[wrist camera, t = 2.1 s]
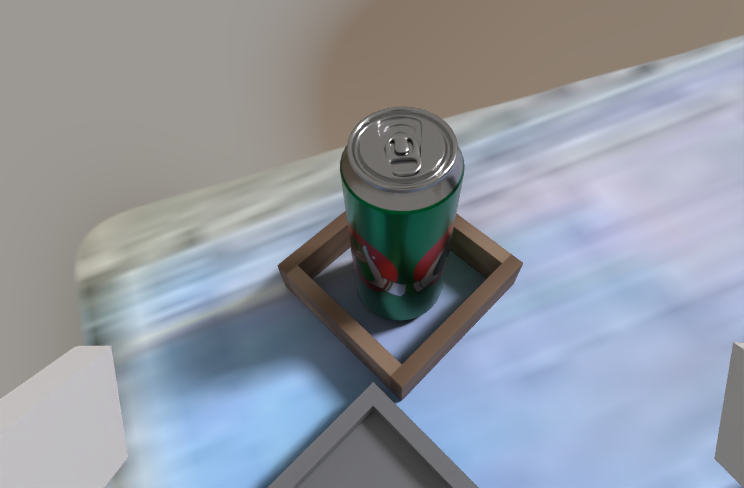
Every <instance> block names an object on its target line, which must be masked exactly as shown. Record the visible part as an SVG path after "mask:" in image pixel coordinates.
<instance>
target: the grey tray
mask: <svg viewBox="0 0 744 488" xmlns="http://www.w3.org/2000/svg"><path fill="white" fill-rule="evenodd" d="M267 488H478V487H477V485H476V484H475V483H474V482H473V481H472V480H471V479H470V478H469V477H468V476H467V475H466V474H465V473H464V472H463V471H462V470H461V469H460V468H459V467H458V466H457V465H456V464H455V463H454V462H453V461H452V460H451V459H450V458H449V457H448V456H447V455H446V454H445V453H444V452H443V451H442V450H441V449H440V448H439V447H438V446H437V445H436V444H435V443H434V442H433V441H432V440H431V439H430V438H429V437H428V436H427V435H426V434H425V433H424V432H423V431H422V430H421V429H420V428H419V427H418V426H417V425H416V424H415V423H414V422H413V421H412V420H411V419H410V418H409V417H408V416H407V415H406V414H405V413H404V412H403V411H402V410H401V409H400V408H399V407H398V406H397V405H396V404H395V403H394V402H393V401H392V400H391V399H390V398H389V397H388V396H387V395H386V394H385V393H384V392H383V391H382V390H381V389H380V388H379V387H378V386H377V385H376V384H375V383H374V382H373V383H372V384H371V385H370V386H369V387H368V388H367V389H366V390H365V391H364V392H363V393H362V394H361V395H360V396H359V397H358V398H357V399H356V400H355V401H354V402H353V403H352V404H351V405H350V406H349V407H348V408H347V409H346V410H345V411H344V412H343V413H342V414H341V415H340V416H339V417H338V418H337V419H336V420H335V421H334V422H333V423H332V424H331V425H330V426H329V427H328V428H327V429H326V430H325V431H324V432H322V433H321V434H320V435H319V436H318V437H317V438H316V439H315V440H314V441H313V442H312V443H311V444H310V445H309V446H308V447H307V448H306V449H305V450H304V451H303V452H302V453H301V454H300V455H299V456H298V457H297V458H296V459H295V460H294V461H293V462H292V463H291V464H290V465H289V466H288V467H287V468H286V469H285V470H284V471H283V472H282V473H281V474H280V475H279V476H278V477H277V478H276V479H275V480H274V481H273V482H272V483H271V484H270V485H269V486H268V487H267Z"/></svg>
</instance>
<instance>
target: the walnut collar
mask: <svg viewBox="0 0 744 488" xmlns="http://www.w3.org/2000/svg"><path fill="white" fill-rule="evenodd" d="M350 247H351V245H350V238H349V231H348V224H347V216H346V211H345V212H344V213H342V214H341V215H340V216H339V217H337V218H336V219H335V220H334V221H332V222H331V223H330V224H329V225H327V226H326V227H325V228H324V229H322V230H321V231H320V232H319V233H317V234H316V235H315V236H314V237H312V238H311V239H310V240H309V241H307V242H306V243H305V244H304V245H302V246H301V247H300V248H299V249H297V250H296V251H295V252H294V253H292V254H291V255H290V256H289V257H287V258H286V259H285V260H284V261H282V262H281V263H280V264H279V265H277V266H278V268H279V271H280V273H281V276H282V278H283V280H284V283H285V285H286V287H287V288H288V289H289V290H290V291H291V292H292V293H293V294H294V295H295V296H296V297H297V298H298V299H299V300H300V301H301V302H302V303H303V304H305V305H306V306H307V307H308V308H309V309H310V310H311V311H312V312H313V313H314V314H315V315H316V316H317V317H318V318H319V319H320V320H321V321H322V322H323V323H324V324H325V325H326V326H327V327H328V328H329V329H330V330H331V331H332V332H333V333H334V334H335V335H336V336H337V337H338V338H339V339H340V340H341V341H342V342H343V343H344V344H345V345H346V346H347V347H348V348H349V349H350V350H351V351H352V352H353V353H354V354H355V355H356V356H357V357H358V358H359V359H360V360H361V361H362V362H363V363H364V364H365V365H366V366H367V367H368V368H369V369H370V370H371V371H372V372H373V373H374V374H375V375H376V376H377V377H378V378H379V379H380V380H381V381H382V382H383V383H384V384H385V385H386V386H387V387H388V388H389V389H390V390H391V391H392V392H393V393H394V394H395V395H396V396H397V397H398V398H399V399H400V400H401V401H402V400H403V399H404V398H405V397H406V396H407V395H408V394H409V392H410V391H411V390H412V389H413V388H414V387H415V386H416V385H417V384H418V383H419V382H420V381H421V380H422V379H423V378H424V377H425V376H426V375H427V374H428V373H429V372H430V371H431V370H432V368H433V367H434V366H435V365H436V364H437V363H438V362H439V361H440V360H441V359H442V358H443V357H444V356H445V355H446V354H447V353H448V352H449V351H450V350H451V349H452V348H453V347H454V345H455V344H456V343H457V342H458V341H459V340H460V339H461V338H462V337H463V336H464V335H465V334H466V333H467V332H468V331H469V330H470V329H471V328H472V327H473V326H474V325H475V324H476V323H477V321H478V320H479V319H480V318H481V317H482V316H483V315H484V314H485V313H486V312H487V311H488V310H489V309H490V308H491V307H492V306H493V305H494V304H495V303H496V302H497V301H498V300H499V299H500V297H501V296H502V295H503V294H504V293H505V292H506V291H507V290H508V289H509V288H510V287H511V286H512V285H513V284H514V282H515V280H516V278H517V275H518V273H519V271H520V269H521V267H522V265H523V262H521V261H520V260H519V259H517V258H516V257H514V256H513V255H512V254H510V253H509V252H508V251H506V250H505V249H504V248H502V247H501V246H500V245H498V244H497V243H496V242H494V241H493V240H491V239H490V238H489V237H487V236H486V235H485V234H483V233H482V232H481V231H479V230H478V229H477V228H475V227H474V226H473V225H471V224H470V223H468V222H467V221H466V220H464V219H463V218H462V217H460V216H459V215H458V214H456V217H455V223H454V228H453V233H452V238H451V243H450V248H449V249H450V250H452V251H453V252H454V253H455V254H457V255H458V256H459V257H460V258H462V259H463V260H464V261H466V262H467V263H468V264H469V265H471V266H472V267H473V268H475V269H476V270H477V271H478V272H480V273H481V274H482V275H484V276H485V277H486V278H487V279H486V280H485V281H484V282H483V283H482V284H481V285H480V286H479V287H478V288H477V289H476V290H475V291H474V292H473V293H472V294H471V295H470V296H469V297H468V298H467V299H466V300H465V301H464V302H463V303H462V304H461V305H460V306H459V307H458V308H457V309H456V310H455V312H454V313H453V314H452V315H451V316H450V317H449V318H448V319H447V320H446V321H445V322H444V323H443V324H442V325H441V326H440V327H439V328H438V329H437V330H436V331H435V332H434V333H433V334H432V335H431V336H430V337H429V338H428V339H427V340H426V341H425V342H424V343H423V344H422V345H421V346H420V347H419V348H418V349H417V350H416V351H415V352H414V353H413V354H412V355H411V356H410V357H409V358H408V359H407V360H406V361H405V362H404V363H403V364H401V363H400V362H399V361H397V360H396V359H395V358H394V357H393V356H392V355H391V354H390V353H389V352H388V351H387V350H386V349H385V348H384V347H383V346H382V345H381V344H380V343H379V342H378V341H376V340H375V339H374V338H373V337H372V336H371V335H370V334H369V333H368V332H367V331H366V330H365V329H364V328H363V327H362V326H361V325H360V324H359V323H358V322H357V321H355V320H354V319H353V318H352V317H351V316H350V315H349V314H348V313H347V312H346V311H345V310H344V309H343V308H342V307H341V306H340V305H339V304H338V303H337V302H336V301H334V300H333V299H332V298H331V297H330V296H329V295H328V294H327V293H326V292H325V291H324V290H323V289H322V288H321V287H320V286H319V285H318V284H317V283H316V282H315V281H313V280H312V279H313V278H314V277H315V276H317V275H318V274H319V273H320V272H321V271H322V270H324V269H325V268H326V267H327V266H328V265H330V264H331V263H332V262H333V261H334V260H336V259H337V258H338V257H339V256H340V255H341V254H343V253H344V252H345V251H346V250H347V249H349V248H350Z"/></svg>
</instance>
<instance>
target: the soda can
mask: <svg viewBox="0 0 744 488" xmlns="http://www.w3.org/2000/svg"><path fill="white" fill-rule="evenodd" d="M340 173H341V180H342V188H343V195H344V202H345V209H346V216H347V224H348V231H349V238H350V245H351V252H352V260H353V267H354V274H355V281H356V288H357V292H358V295H359V297H360V299H361V301H362V302H363V303H364V305H365V306H366V307H367V308H368V309H369V310H370V311H372V312H373V313H375V314H376V315H378V316H381V317H383V318H386V319H390V320H409V319H413V318H416V317H418V316H420V315H422V314H424V313H426V312H427V311H428V310H429V309H431V308H432V307H433V306H434V304H435V303H436V301H437V300H438V298H439V296H440V293H441V289H442V285H443V280H444V274H445V269H446V264H447V259H448V254H449V248H450V243H451V238H452V233H453V228H454V223H455V217H456V212H457V207H458V202H459V197H460V191H461V186H462V181H463V176H464V159H463V156H462V153H461V150H460V149H459V147H458V143H457V139H456V137H455V134H454V132H453V131H452V129H451V128H450V126H449V125H448V124H447V123H446V122H445V121H444V120H442V119H441V118H440V117H438V116H437V115H435V114H433V113H430V112H428V111H425V110H422V109H418V108H413V107H393V108H387V109H383V110H380V111H377V112H375V113H372V114H371V115H369V116H367V117H365V118H364V119H363V120H362V121H360V122H359V123H358V124H357V125H356V126H355V128H354V129H353V131H352V133H351V135H350V137H349V140H348V144H347V146H346V147H345V149H344V151H343V153H342V157H341V161H340Z"/></svg>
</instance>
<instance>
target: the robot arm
mask: <svg viewBox="0 0 744 488" xmlns="http://www.w3.org/2000/svg"><path fill="white" fill-rule="evenodd" d="M127 458H128V454H127V447H126V441H125V434H124V428H123V421H122V415H121V408H120V402H119V395H118V388H117V382H116V375H115V369H114V362H113V356H112V349H111V346H76V347H74V348H73V349H71V350H70V351H68V352H67V353H66V354H64V355H63V356H61V357H60V358H58V359H57V360H56V361H54V362H53V363H52V364H50V365H48V366H47V367H46V368H44V369H43V370H41V371H40V372H38V373H37V374H36V375H34V376H33V377H31V378H30V379H29V380H27V381H26V382H24V383H23V384H22V385H20V386H19V387H17V388H16V389H14V390H13V391H11V392H10V393H9V394H7V395H6V396H4V397H3V398H1V399H0V488H104V487H105V486H106V485H107V484H108V482H109V481H110V480H111V478H112V477H113V476H114V475H115V473H116V472H117V471H118V470H119V468H120V467H121V466H122V464H123V463H124V462H125V461H126V459H127ZM714 459H715V460H716V461H717V462H718V463H719V464H720V465H721V466H722V467H723V468H724V469H725V470H726V471H727V472H728V473H729V474H730V475H731V476H732V477H733V478H734V479H735V480H736V481H737V482H738V483H739V484H740V485H741V486H742V487H743V488H744V342H738V343H733V347H732V353H731V360H730V366H729V372H728V378H727V384H726V390H725V397H724V403H723V409H722V415H721V421H720V427H719V434H718V440H717V446H716V452H715V458H714Z"/></svg>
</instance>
